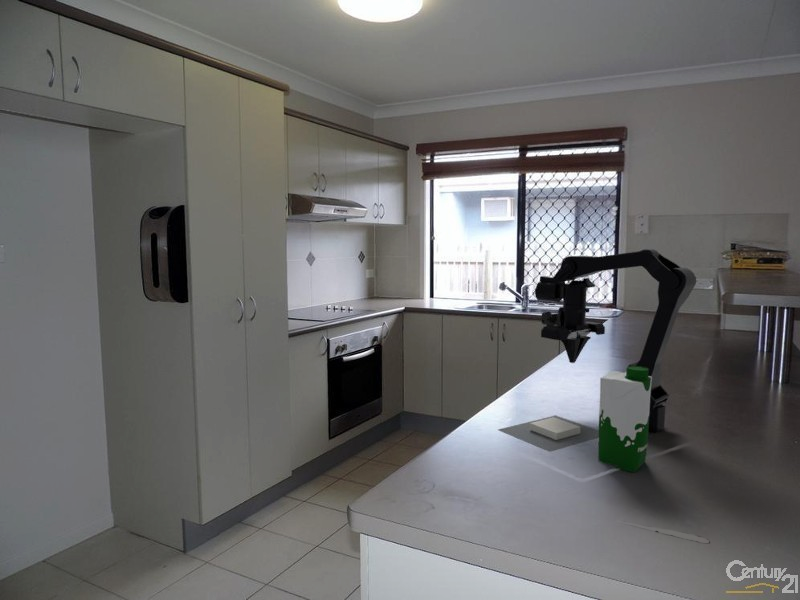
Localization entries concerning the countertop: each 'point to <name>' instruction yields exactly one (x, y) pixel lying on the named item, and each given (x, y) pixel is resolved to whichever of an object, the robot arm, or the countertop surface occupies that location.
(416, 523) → the countertop surface
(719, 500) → the countertop surface
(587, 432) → the mat
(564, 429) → the tile
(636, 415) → the milk carton
